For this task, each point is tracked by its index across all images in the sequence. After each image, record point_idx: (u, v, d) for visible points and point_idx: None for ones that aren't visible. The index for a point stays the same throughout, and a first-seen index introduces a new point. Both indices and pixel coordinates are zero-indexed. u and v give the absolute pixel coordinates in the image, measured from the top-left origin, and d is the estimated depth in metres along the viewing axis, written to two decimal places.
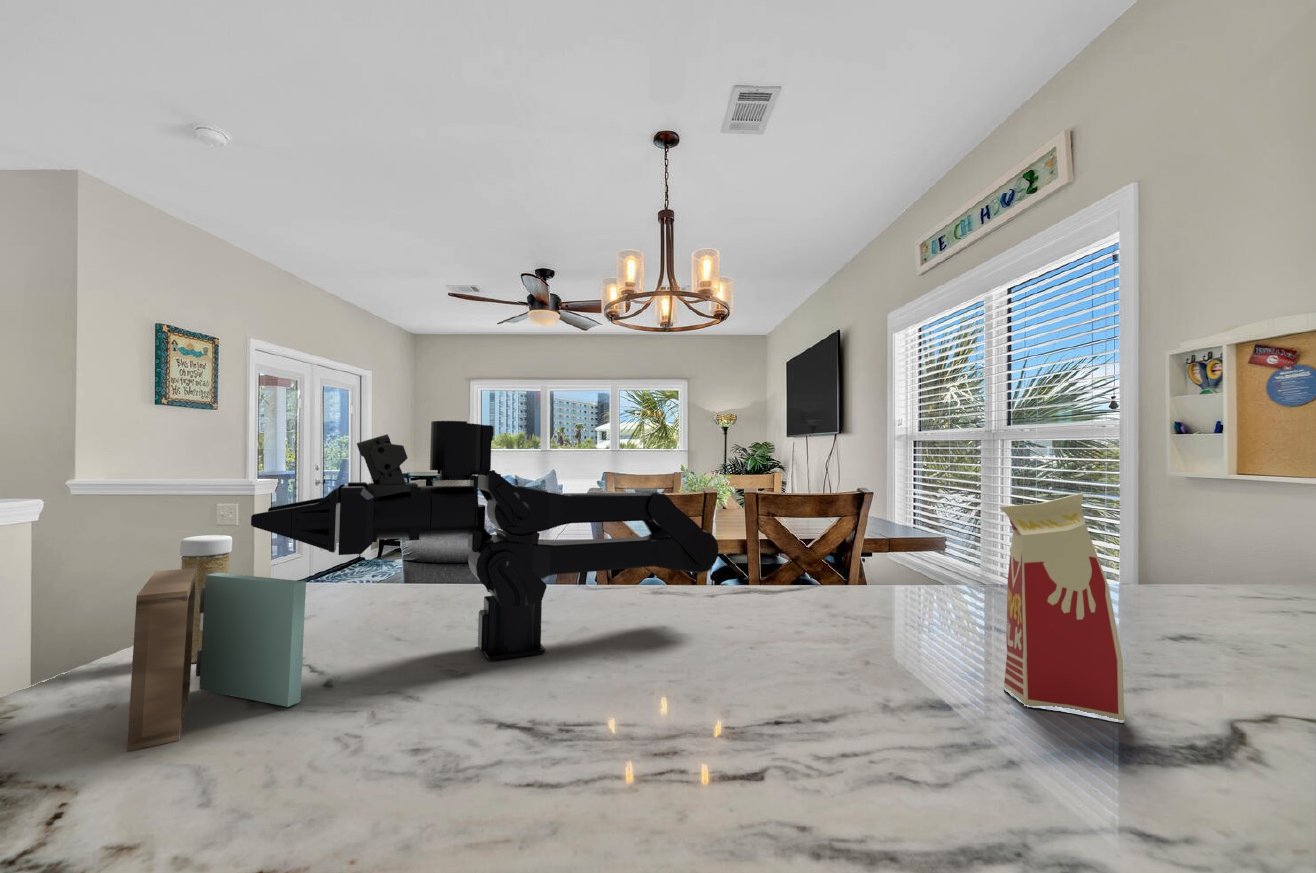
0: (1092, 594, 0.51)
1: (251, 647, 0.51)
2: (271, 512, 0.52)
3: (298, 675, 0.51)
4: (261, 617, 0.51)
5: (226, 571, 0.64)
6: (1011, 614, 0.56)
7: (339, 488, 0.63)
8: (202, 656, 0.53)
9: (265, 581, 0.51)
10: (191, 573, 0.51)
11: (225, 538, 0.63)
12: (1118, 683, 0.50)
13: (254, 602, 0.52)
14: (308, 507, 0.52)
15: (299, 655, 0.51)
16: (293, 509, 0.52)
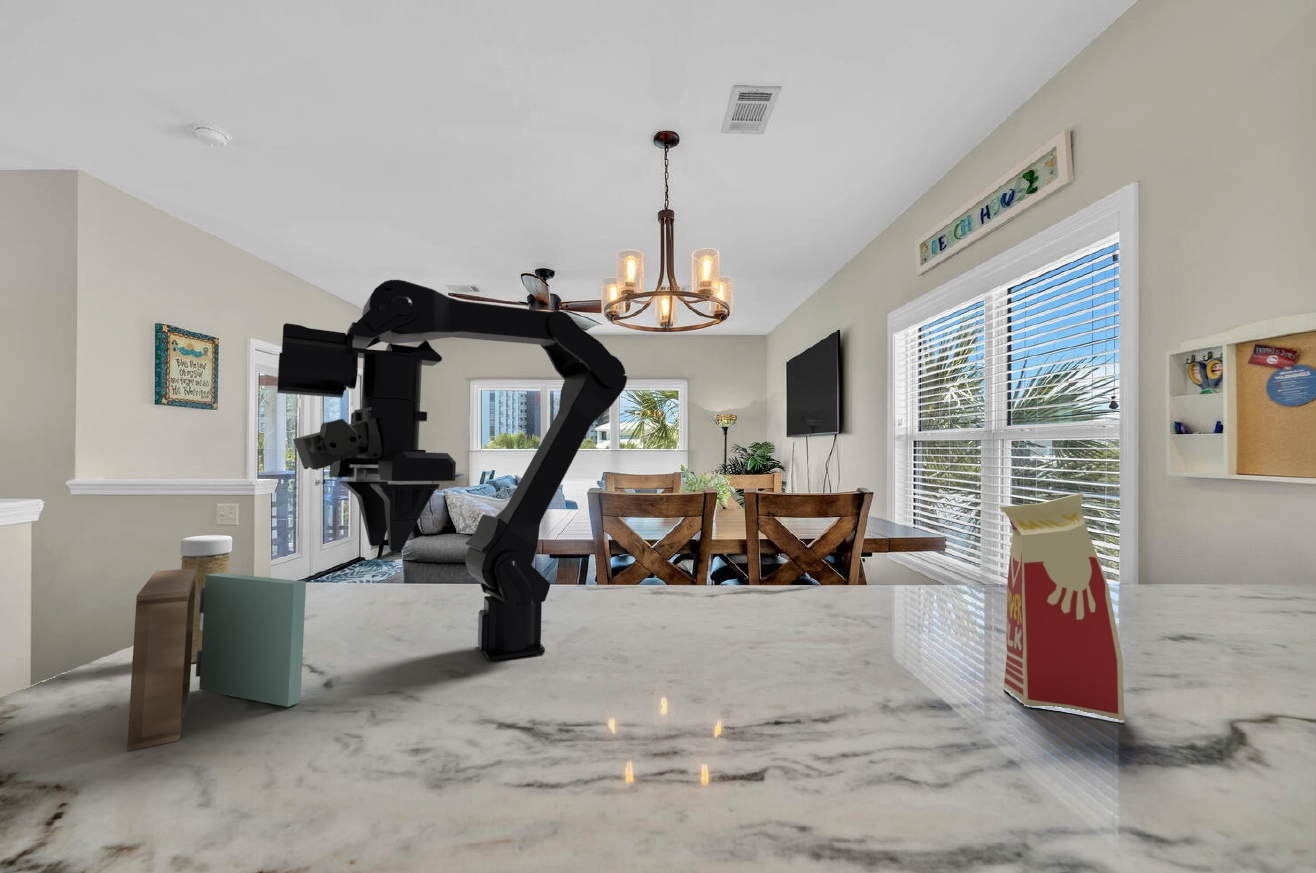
0: (1092, 594, 0.51)
1: (251, 647, 0.51)
2: (391, 536, 0.56)
3: (298, 675, 0.51)
4: (261, 617, 0.51)
5: (226, 571, 0.64)
6: (1011, 614, 0.56)
7: (352, 485, 0.60)
8: (202, 656, 0.53)
9: (265, 581, 0.51)
10: (191, 573, 0.51)
11: (225, 538, 0.63)
12: (1118, 683, 0.50)
13: (254, 602, 0.52)
14: (392, 507, 0.55)
15: (299, 655, 0.51)
16: (391, 519, 0.56)
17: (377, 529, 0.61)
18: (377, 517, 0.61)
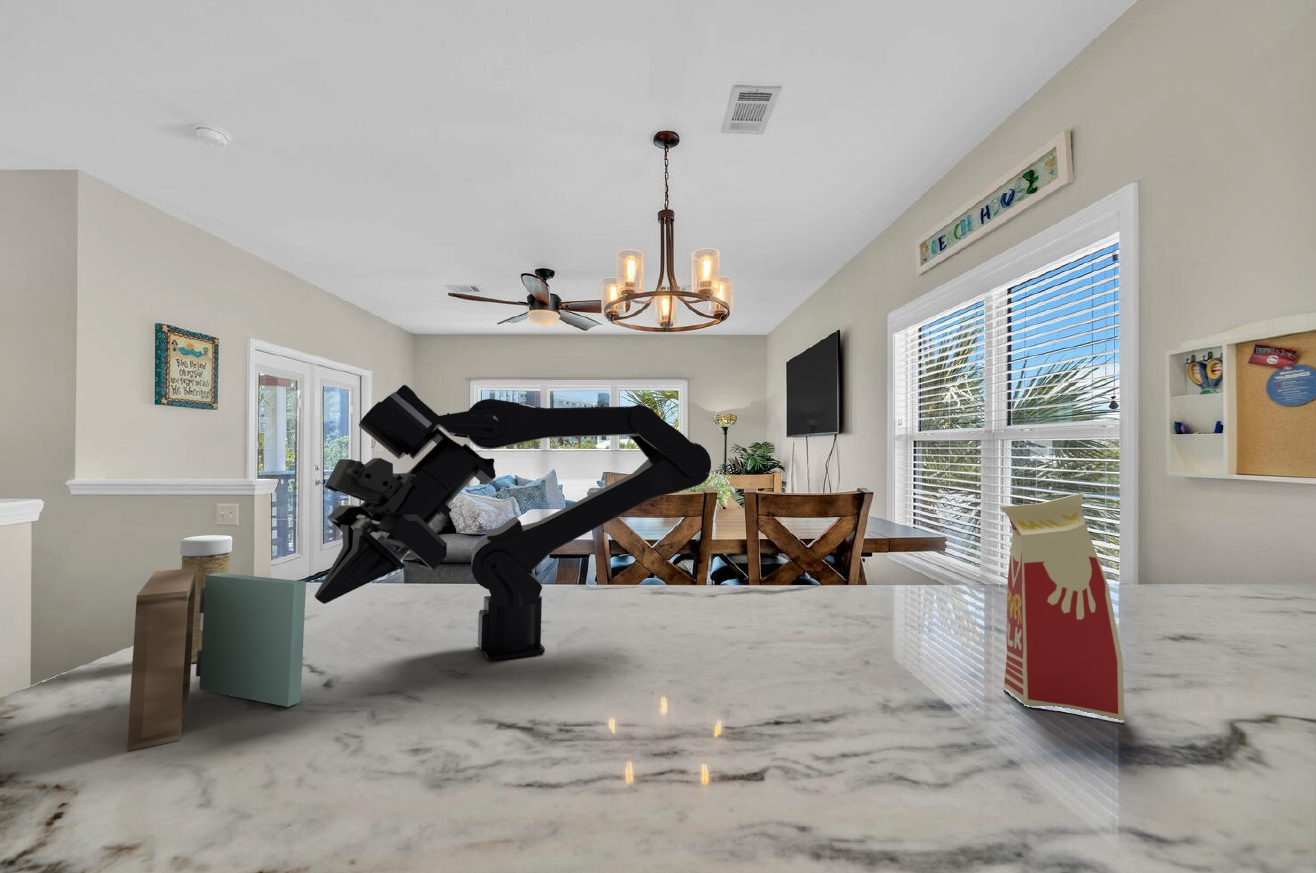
0: (1092, 594, 0.51)
1: (251, 647, 0.51)
2: (329, 583, 0.55)
3: (298, 675, 0.51)
4: (261, 617, 0.51)
5: (226, 571, 0.64)
6: (1011, 614, 0.56)
7: (350, 532, 0.58)
8: (202, 656, 0.53)
9: (265, 581, 0.51)
10: (191, 573, 0.51)
11: (225, 538, 0.63)
12: (1118, 683, 0.50)
13: (254, 602, 0.52)
14: (353, 557, 0.56)
15: (299, 655, 0.51)
16: (343, 568, 0.55)
17: None
18: None
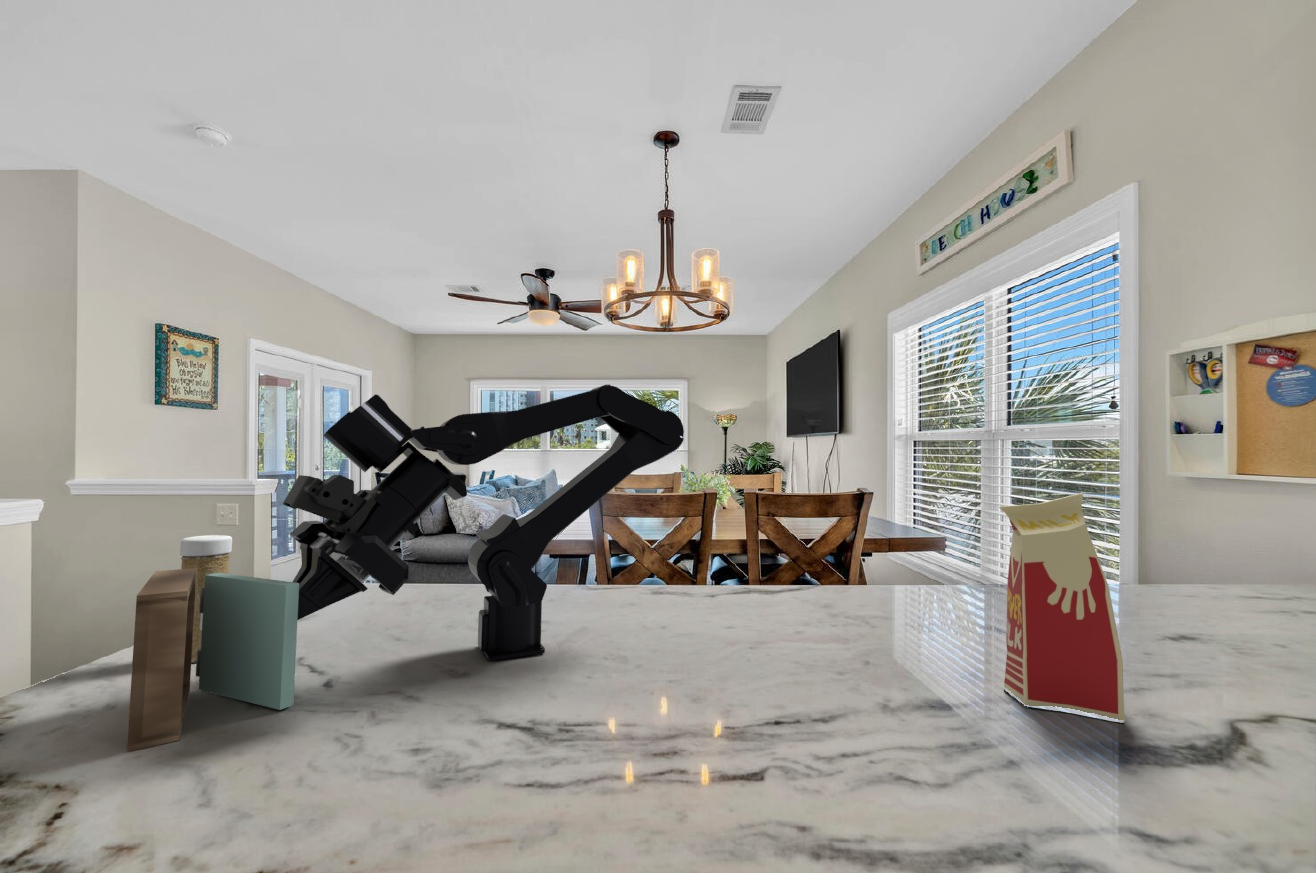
0: (1092, 594, 0.51)
1: (246, 649, 0.51)
2: None
3: (291, 678, 0.50)
4: (255, 618, 0.51)
5: (226, 571, 0.64)
6: (1011, 614, 0.56)
7: (309, 551, 0.55)
8: (201, 656, 0.53)
9: (259, 582, 0.51)
10: (191, 573, 0.51)
11: (225, 538, 0.63)
12: (1118, 683, 0.50)
13: (249, 603, 0.51)
14: (311, 580, 0.53)
15: (292, 657, 0.50)
16: (300, 591, 0.53)
17: None
18: None
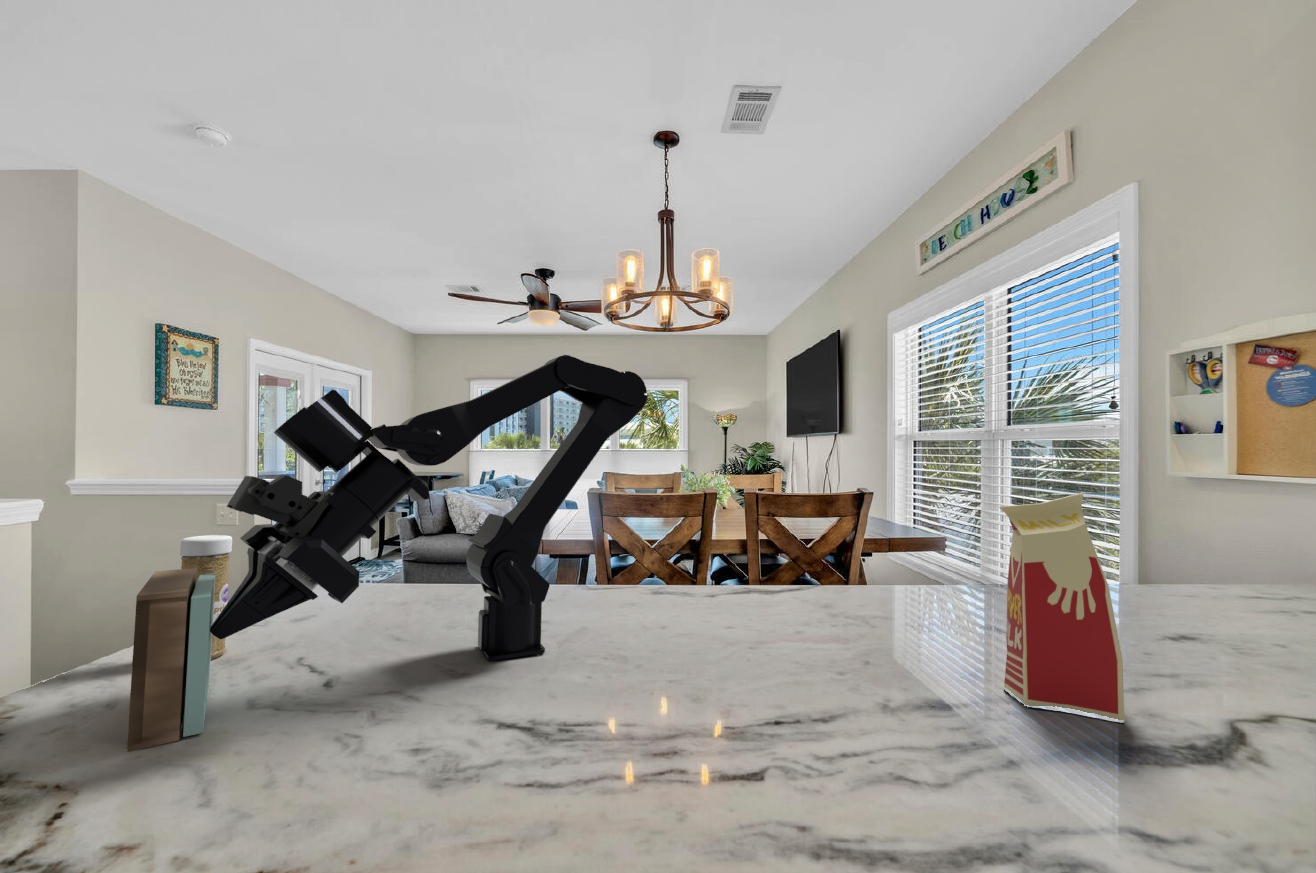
0: (1092, 594, 0.51)
1: None
2: (226, 617, 0.49)
3: (199, 702, 0.45)
4: None
5: (226, 571, 0.64)
6: (1011, 614, 0.56)
7: (255, 556, 0.52)
8: None
9: (195, 590, 0.48)
10: (191, 573, 0.51)
11: (225, 538, 0.63)
12: (1118, 683, 0.50)
13: None
14: (256, 587, 0.50)
15: (200, 679, 0.45)
16: (244, 599, 0.49)
17: None
18: None
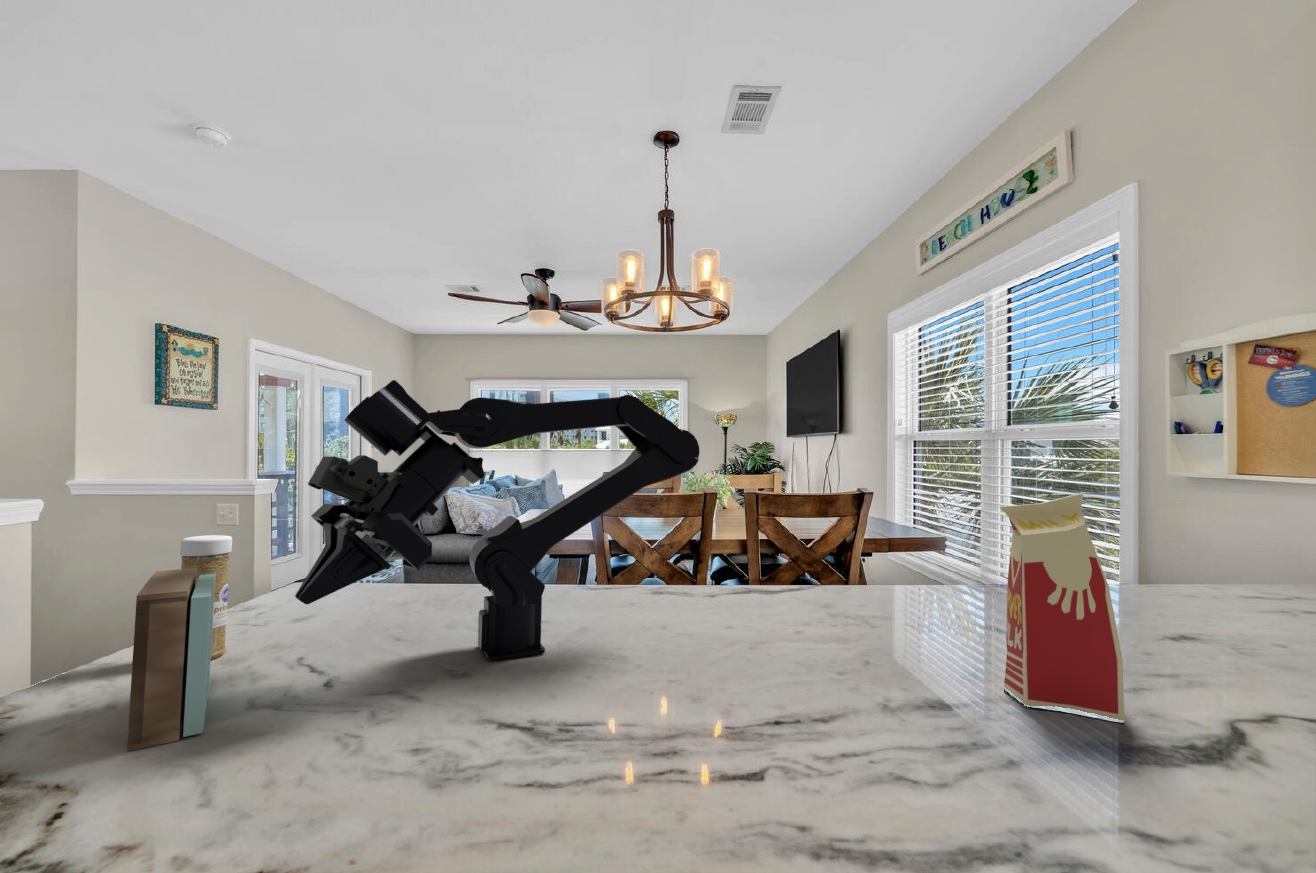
0: (1092, 594, 0.51)
1: None
2: (312, 584, 0.53)
3: (199, 702, 0.45)
4: None
5: (226, 571, 0.64)
6: (1011, 614, 0.56)
7: (332, 530, 0.57)
8: None
9: (195, 590, 0.48)
10: (191, 573, 0.51)
11: (225, 538, 0.63)
12: (1118, 683, 0.50)
13: None
14: (337, 557, 0.54)
15: (200, 679, 0.45)
16: (327, 568, 0.54)
17: None
18: None
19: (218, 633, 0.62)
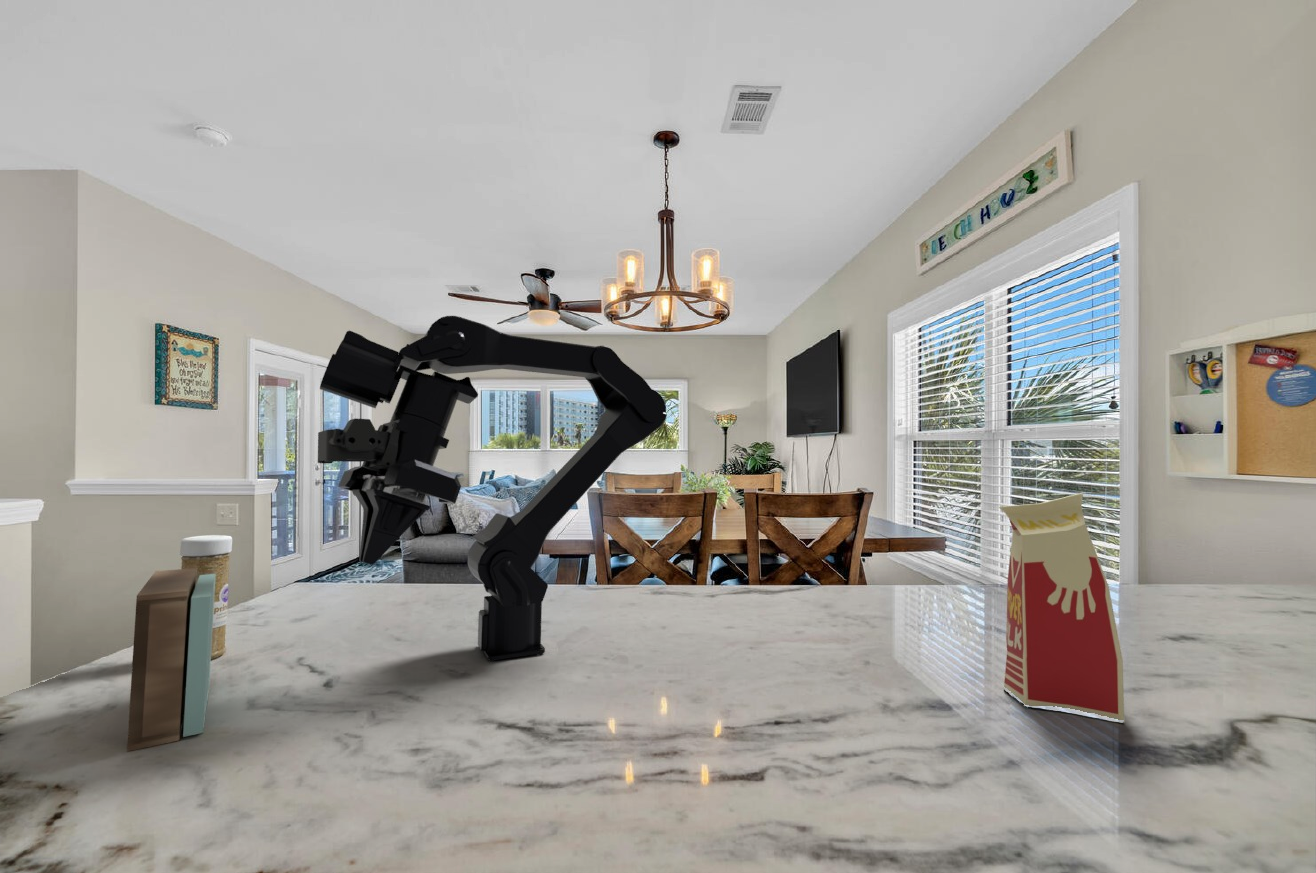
0: (1092, 594, 0.51)
1: None
2: (368, 546, 0.56)
3: (199, 702, 0.45)
4: None
5: (226, 571, 0.64)
6: (1011, 614, 0.56)
7: (363, 494, 0.58)
8: None
9: (195, 590, 0.48)
10: (191, 573, 0.51)
11: (225, 538, 0.63)
12: (1118, 683, 0.50)
13: None
14: (378, 516, 0.56)
15: (200, 679, 0.45)
16: (374, 528, 0.56)
17: None
18: None
19: (218, 633, 0.62)
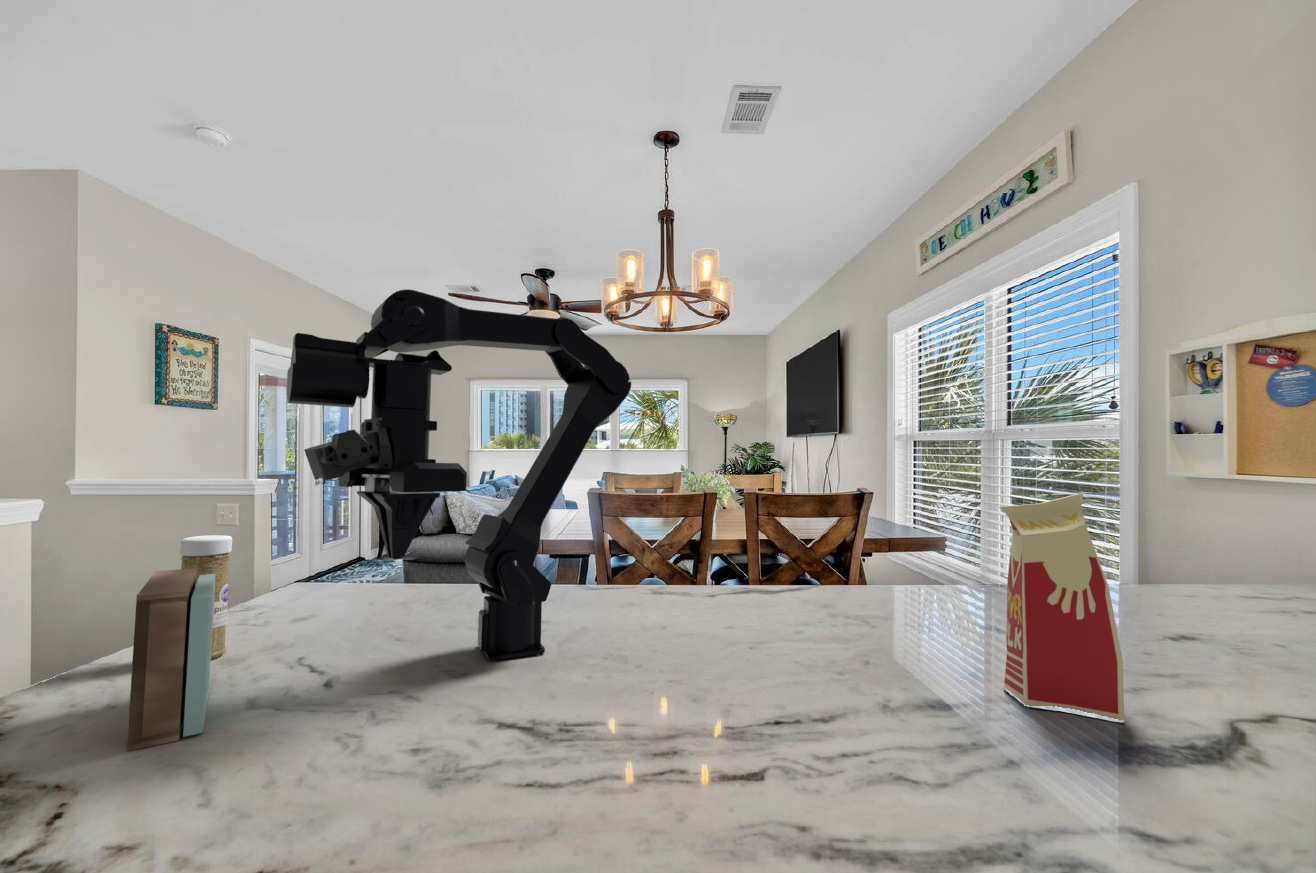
0: (1092, 594, 0.51)
1: None
2: (393, 544, 0.58)
3: (199, 702, 0.45)
4: None
5: (226, 571, 0.64)
6: (1011, 614, 0.56)
7: (369, 496, 0.58)
8: None
9: (195, 590, 0.48)
10: (191, 573, 0.51)
11: (225, 538, 0.63)
12: (1118, 683, 0.50)
13: None
14: (394, 516, 0.57)
15: (200, 679, 0.45)
16: (393, 527, 0.57)
17: None
18: None
19: (218, 633, 0.62)
